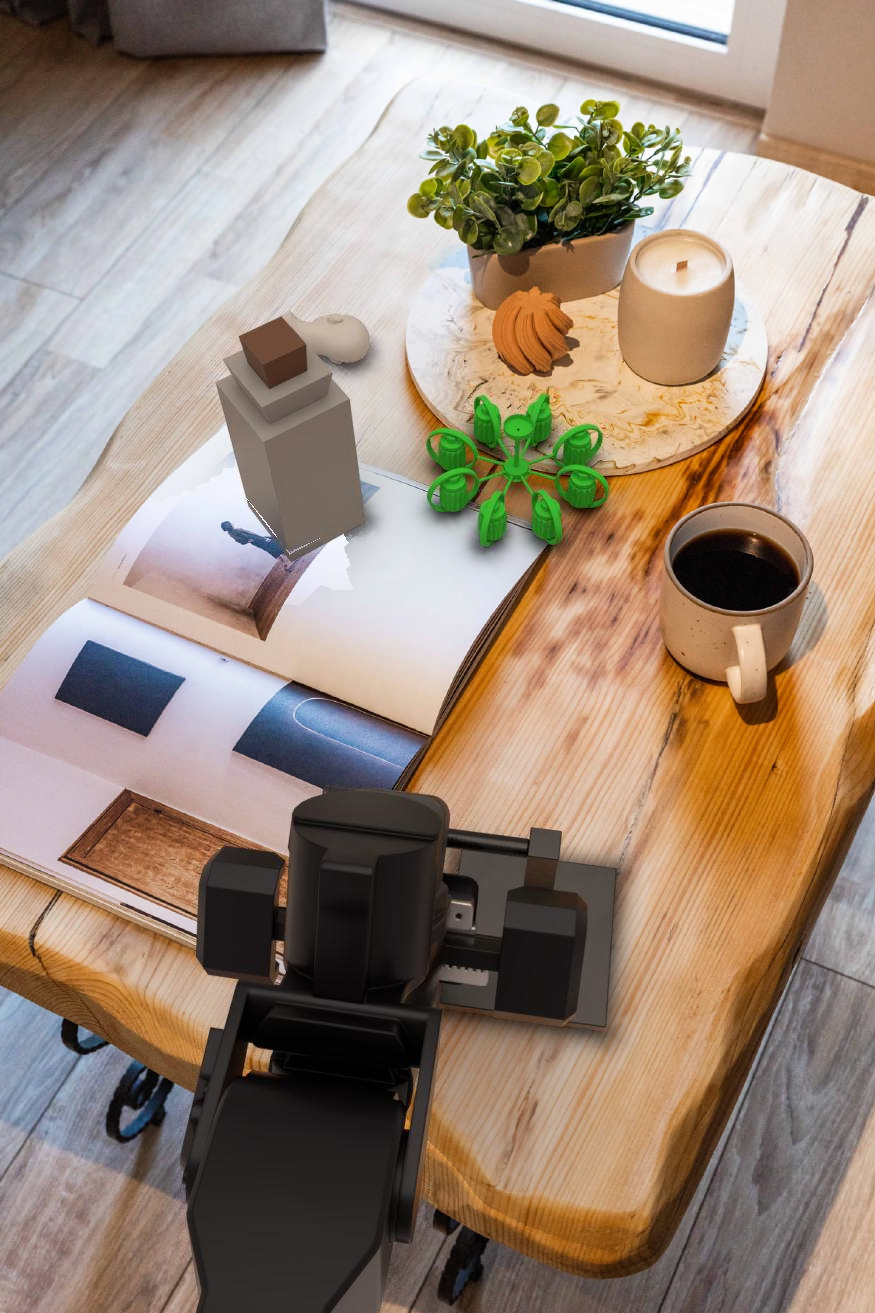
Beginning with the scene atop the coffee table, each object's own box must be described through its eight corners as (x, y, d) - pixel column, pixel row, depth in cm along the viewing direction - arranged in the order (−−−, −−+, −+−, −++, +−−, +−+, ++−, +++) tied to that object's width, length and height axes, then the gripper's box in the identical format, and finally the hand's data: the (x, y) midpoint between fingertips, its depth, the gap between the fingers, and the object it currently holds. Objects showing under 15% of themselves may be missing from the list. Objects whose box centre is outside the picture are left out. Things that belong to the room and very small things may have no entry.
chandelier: (557, 394, 94) (563, 331, 88) (643, 522, 86) (656, 462, 80) (392, 450, 91) (387, 389, 85) (468, 587, 84) (467, 530, 78)
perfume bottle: (365, 522, 87) (343, 348, 72) (291, 562, 85) (252, 392, 70) (320, 468, 90) (290, 290, 75) (248, 506, 88) (202, 331, 73)
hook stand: (604, 1032, 66) (639, 954, 53) (310, 989, 68) (271, 903, 55) (614, 874, 72) (649, 766, 58) (341, 838, 73) (313, 725, 60)
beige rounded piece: (376, 351, 98) (363, 378, 95) (288, 340, 99) (272, 366, 95) (376, 305, 96) (363, 330, 92) (286, 293, 96) (270, 318, 93)
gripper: (606, 870, 44) (598, 749, 59) (155, 810, 46) (259, 708, 61) (573, 1112, 47) (574, 937, 62) (148, 1047, 49) (249, 893, 64)
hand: (414, 865), depth 62 cm, fingers closed
